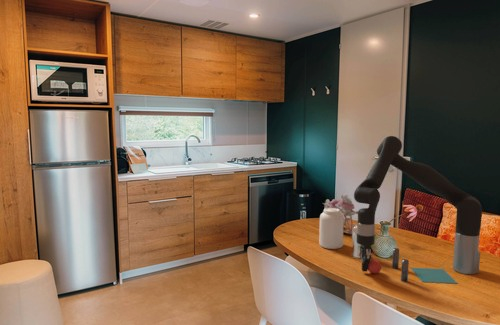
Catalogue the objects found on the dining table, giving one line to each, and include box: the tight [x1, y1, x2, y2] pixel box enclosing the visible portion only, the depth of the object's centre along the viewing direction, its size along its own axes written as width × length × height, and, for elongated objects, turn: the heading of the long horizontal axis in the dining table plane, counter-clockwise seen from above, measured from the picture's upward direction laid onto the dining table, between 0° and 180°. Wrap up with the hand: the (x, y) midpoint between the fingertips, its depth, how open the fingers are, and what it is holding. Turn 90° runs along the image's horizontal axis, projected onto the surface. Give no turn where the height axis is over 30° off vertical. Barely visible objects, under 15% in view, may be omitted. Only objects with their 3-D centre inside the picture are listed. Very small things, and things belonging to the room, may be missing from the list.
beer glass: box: [351, 224, 361, 259], centre depth 175 cm, size 7×7×15 cm
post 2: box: [400, 258, 410, 283], centre depth 149 cm, size 3×3×9 cm
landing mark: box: [410, 267, 458, 285], centre depth 154 cm, size 14×14×1 cm
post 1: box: [391, 247, 400, 270], centre depth 161 cm, size 3×3×9 cm
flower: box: [322, 194, 359, 235], centre depth 214 cm, size 20×22×25 cm
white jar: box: [318, 207, 345, 250], centre depth 190 cm, size 12×12×20 cm
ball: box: [367, 258, 382, 274], centre depth 156 cm, size 6×6×6 cm
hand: (364, 270), depth 157 cm, fingers closed
